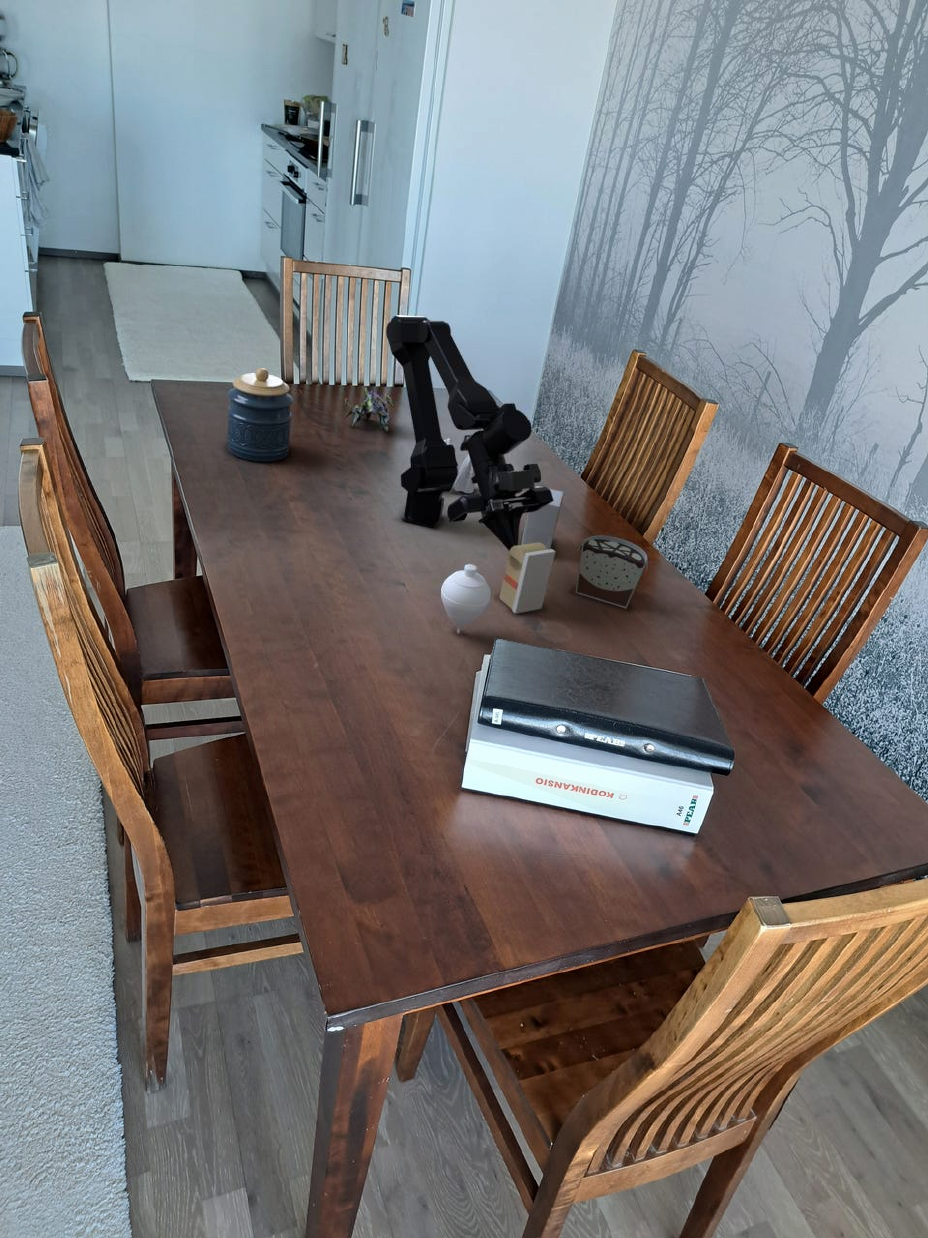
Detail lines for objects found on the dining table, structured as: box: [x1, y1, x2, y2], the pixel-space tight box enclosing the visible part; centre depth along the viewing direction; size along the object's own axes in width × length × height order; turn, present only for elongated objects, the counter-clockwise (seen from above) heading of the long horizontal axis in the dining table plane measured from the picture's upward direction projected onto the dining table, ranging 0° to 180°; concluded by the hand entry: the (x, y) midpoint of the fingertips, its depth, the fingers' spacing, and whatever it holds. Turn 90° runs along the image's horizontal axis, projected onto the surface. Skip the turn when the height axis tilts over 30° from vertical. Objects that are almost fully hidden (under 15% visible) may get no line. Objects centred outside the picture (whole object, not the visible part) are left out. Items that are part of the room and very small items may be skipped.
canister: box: [226, 367, 294, 463], centre depth 186 cm, size 13×13×18 cm
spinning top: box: [440, 563, 492, 634], centre depth 139 cm, size 8×8×12 cm
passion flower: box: [343, 387, 396, 432], centre depth 212 cm, size 11×11×12 cm
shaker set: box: [443, 438, 477, 494], centre depth 187 cm, size 12×4×11 cm, turn 104°
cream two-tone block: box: [499, 542, 556, 615], centre depth 151 cm, size 6×6×11 cm
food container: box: [574, 535, 649, 610], centre depth 159 cm, size 12×6×10 cm, turn 71°
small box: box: [520, 485, 565, 550], centre depth 171 cm, size 8×6×10 cm
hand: (514, 552), depth 152 cm, fingers closed
